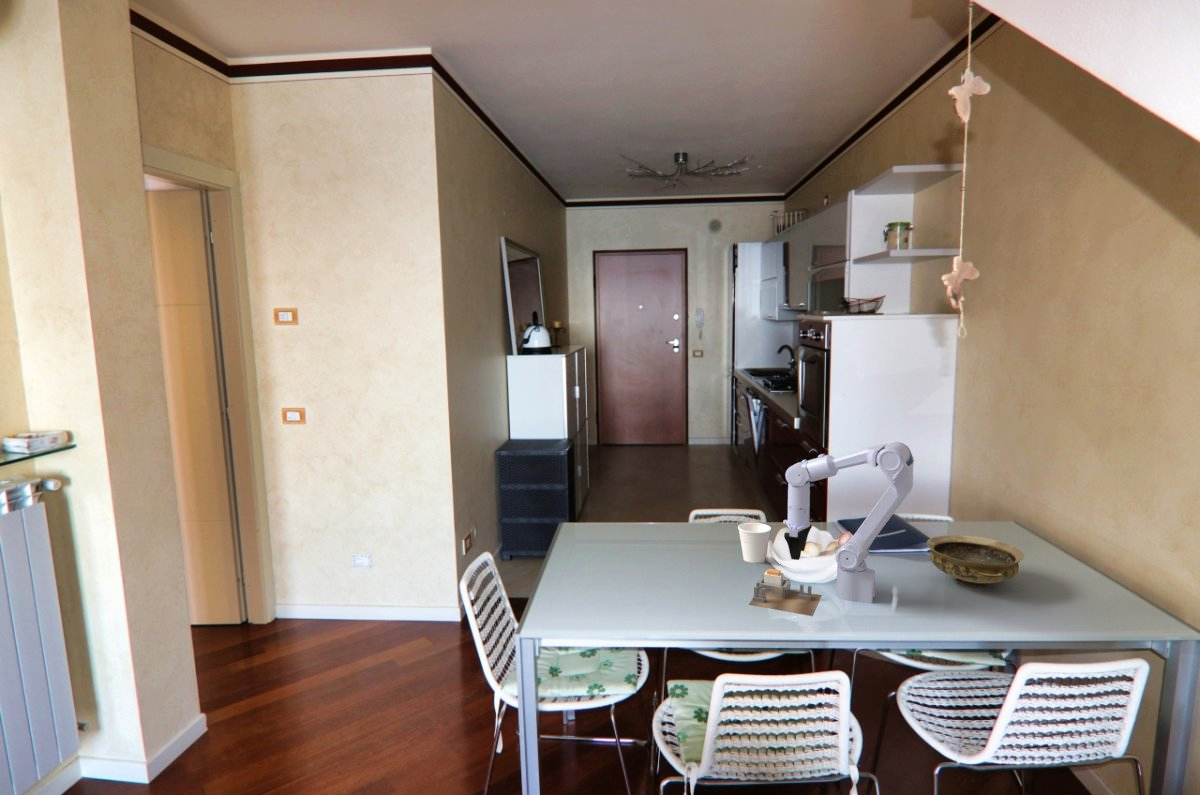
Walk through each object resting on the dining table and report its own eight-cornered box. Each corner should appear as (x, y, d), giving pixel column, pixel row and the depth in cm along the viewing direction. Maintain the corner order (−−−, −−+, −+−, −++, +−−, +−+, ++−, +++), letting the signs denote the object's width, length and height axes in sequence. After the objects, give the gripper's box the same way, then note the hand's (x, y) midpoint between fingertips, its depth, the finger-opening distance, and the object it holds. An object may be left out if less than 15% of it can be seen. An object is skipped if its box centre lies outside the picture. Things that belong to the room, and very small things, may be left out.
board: (821, 598, 185) (821, 595, 184) (812, 619, 172) (812, 615, 172) (761, 588, 192) (761, 585, 192) (748, 608, 179) (748, 604, 179)
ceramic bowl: (1042, 607, 177) (1045, 570, 176) (942, 601, 182) (943, 564, 180) (998, 565, 207) (1000, 532, 205) (913, 560, 211) (914, 529, 210)
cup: (743, 554, 218) (744, 520, 217) (774, 559, 213) (775, 525, 212) (732, 564, 210) (733, 529, 209) (764, 570, 205) (765, 534, 204)
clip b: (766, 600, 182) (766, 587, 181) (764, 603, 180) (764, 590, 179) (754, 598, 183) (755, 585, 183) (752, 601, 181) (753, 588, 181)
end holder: (790, 590, 188) (790, 579, 187) (785, 599, 182) (785, 588, 182) (761, 585, 191) (762, 575, 191) (756, 594, 186) (756, 583, 185)
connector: (782, 591, 187) (783, 570, 186) (780, 595, 184) (780, 574, 184) (766, 588, 189) (766, 567, 188) (763, 592, 186) (763, 571, 186)
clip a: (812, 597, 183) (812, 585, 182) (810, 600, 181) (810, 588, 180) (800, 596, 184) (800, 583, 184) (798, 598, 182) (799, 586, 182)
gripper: (788, 498, 198) (788, 544, 199) (778, 512, 185) (777, 561, 186) (814, 501, 195) (813, 547, 196) (805, 515, 182) (804, 564, 183)
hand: (797, 554), depth 191 cm, fingers open, 7 cm apart
